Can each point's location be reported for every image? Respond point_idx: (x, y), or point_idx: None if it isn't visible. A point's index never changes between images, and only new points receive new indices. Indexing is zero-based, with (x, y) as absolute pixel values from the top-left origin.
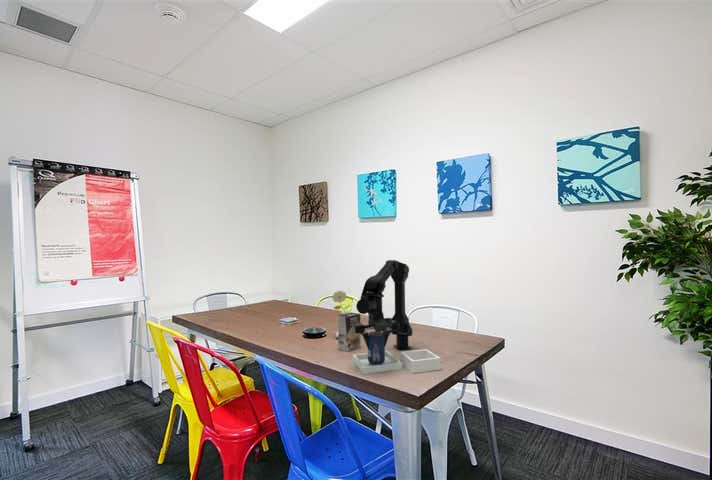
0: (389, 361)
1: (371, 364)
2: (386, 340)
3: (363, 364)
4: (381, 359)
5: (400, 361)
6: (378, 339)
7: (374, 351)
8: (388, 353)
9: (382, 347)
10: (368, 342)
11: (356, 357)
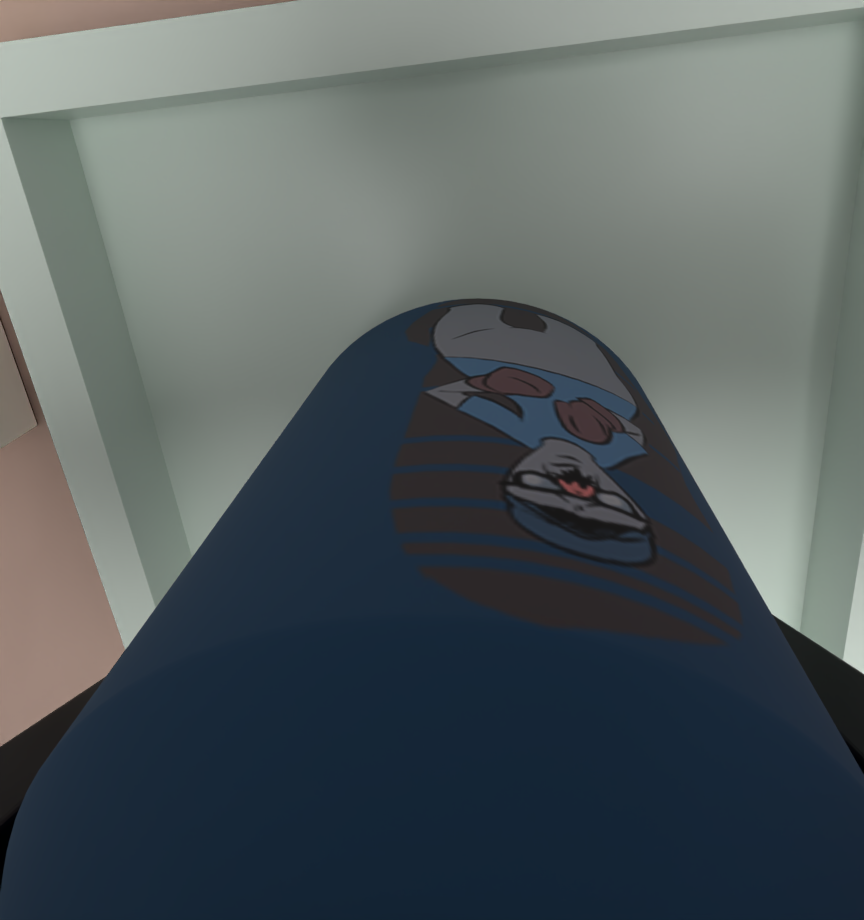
0: (218, 496)
1: None
2: (6, 765)
3: (733, 467)
4: (392, 324)
5: (14, 422)
6: (393, 646)
7: (593, 399)
8: None
9: (278, 462)
10: (860, 746)
11: (858, 655)
